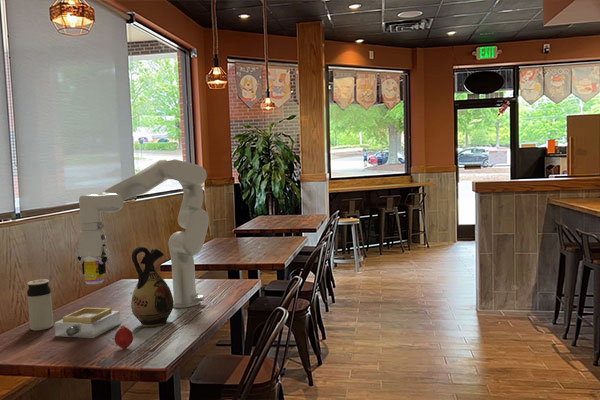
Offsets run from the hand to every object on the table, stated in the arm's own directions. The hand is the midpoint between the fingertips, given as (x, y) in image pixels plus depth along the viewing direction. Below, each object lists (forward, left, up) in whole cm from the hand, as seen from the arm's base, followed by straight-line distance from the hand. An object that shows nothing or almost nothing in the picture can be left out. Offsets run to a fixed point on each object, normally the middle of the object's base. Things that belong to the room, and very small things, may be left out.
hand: (94, 273), depth 191 cm
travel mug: (+21, +6, -20) cm, 30 cm away
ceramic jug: (-21, -3, -20) cm, 30 cm away
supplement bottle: (0, 0, -4) cm, 4 cm away
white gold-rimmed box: (0, +6, -20) cm, 21 cm away
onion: (-26, +22, -20) cm, 40 cm away
